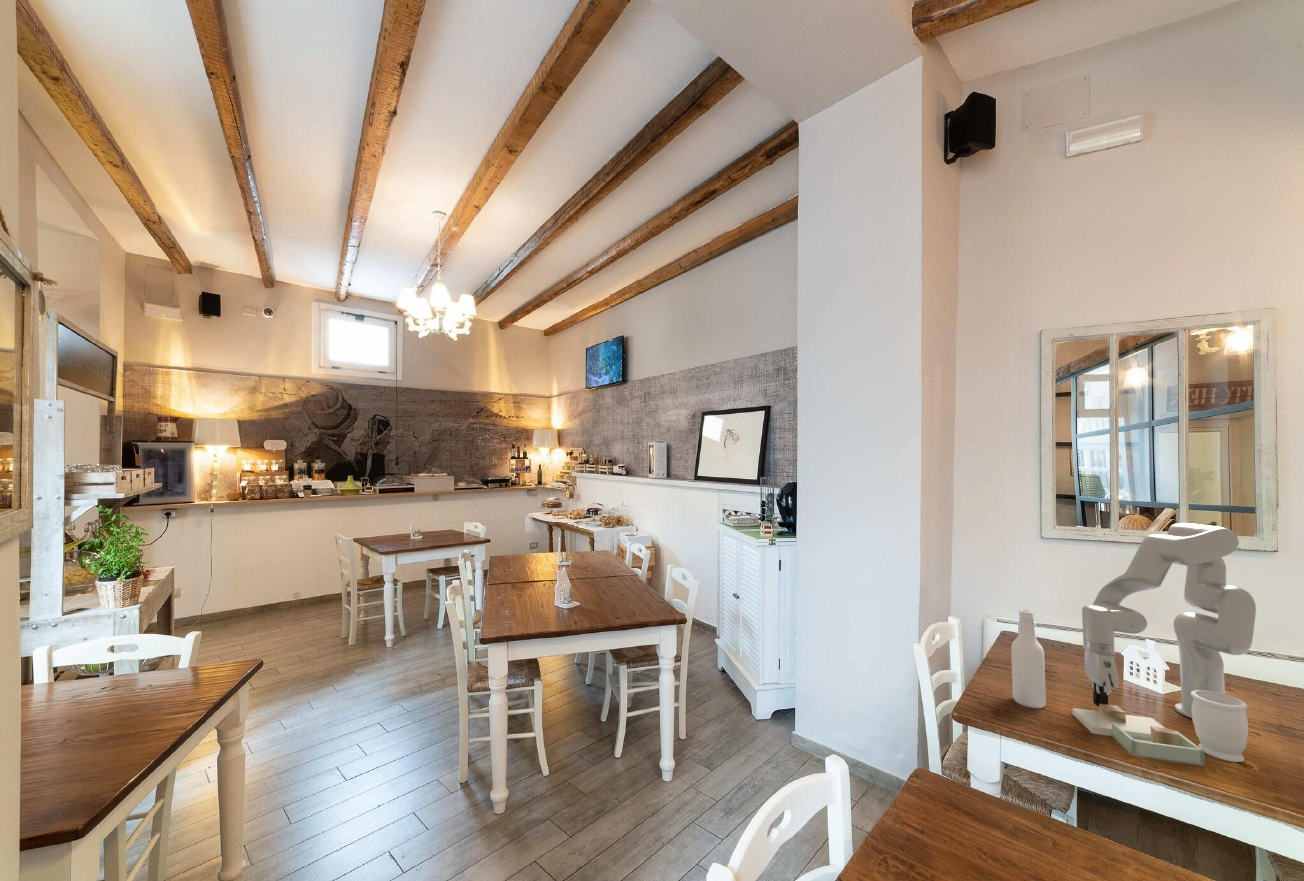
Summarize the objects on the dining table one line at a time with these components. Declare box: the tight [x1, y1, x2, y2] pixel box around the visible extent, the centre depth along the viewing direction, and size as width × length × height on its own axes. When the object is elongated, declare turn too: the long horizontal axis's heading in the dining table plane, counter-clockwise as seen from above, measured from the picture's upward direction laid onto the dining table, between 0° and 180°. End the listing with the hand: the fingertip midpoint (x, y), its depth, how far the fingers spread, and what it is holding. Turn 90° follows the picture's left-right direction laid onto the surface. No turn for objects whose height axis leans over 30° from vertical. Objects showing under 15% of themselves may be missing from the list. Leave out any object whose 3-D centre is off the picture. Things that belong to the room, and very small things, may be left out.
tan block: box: [1098, 704, 1127, 723], centre depth 155 cm, size 4×4×3 cm
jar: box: [1191, 690, 1249, 763], centre depth 139 cm, size 11×10×15 cm
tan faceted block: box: [1150, 726, 1178, 746], centre depth 142 cm, size 4×4×3 cm
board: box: [1072, 707, 1166, 740], centre depth 152 cm, size 20×12×2 cm, turn 72°
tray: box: [1111, 723, 1206, 767], centre depth 140 cm, size 15×10×4 cm
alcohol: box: [1010, 609, 1047, 709], centre depth 169 cm, size 9×9×30 cm
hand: (1100, 705), depth 161 cm, fingers closed
